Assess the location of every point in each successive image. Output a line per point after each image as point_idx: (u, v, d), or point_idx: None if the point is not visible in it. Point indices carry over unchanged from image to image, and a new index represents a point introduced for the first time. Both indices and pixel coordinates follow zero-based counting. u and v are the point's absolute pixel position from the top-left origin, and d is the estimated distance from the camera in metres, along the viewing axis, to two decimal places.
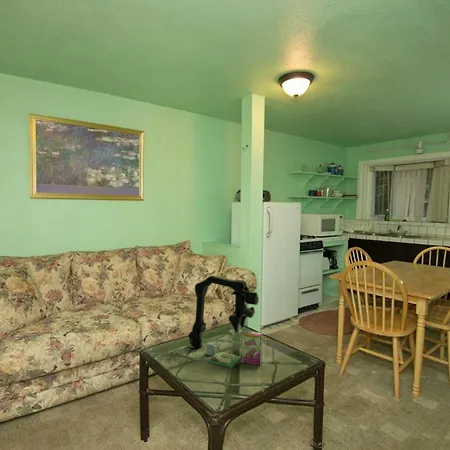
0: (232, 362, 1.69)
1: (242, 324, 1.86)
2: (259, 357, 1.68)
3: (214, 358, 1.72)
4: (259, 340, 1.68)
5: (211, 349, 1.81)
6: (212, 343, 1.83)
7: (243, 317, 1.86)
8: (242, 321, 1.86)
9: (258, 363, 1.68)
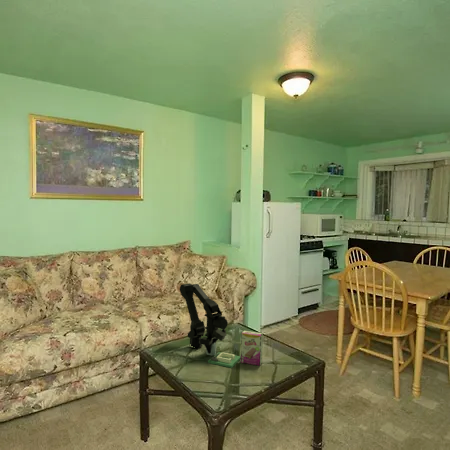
0: (232, 362, 1.69)
1: None
2: (259, 357, 1.68)
3: (214, 358, 1.72)
4: (259, 340, 1.68)
5: (211, 349, 1.81)
6: None
7: (213, 340, 1.85)
8: None
9: (258, 363, 1.68)
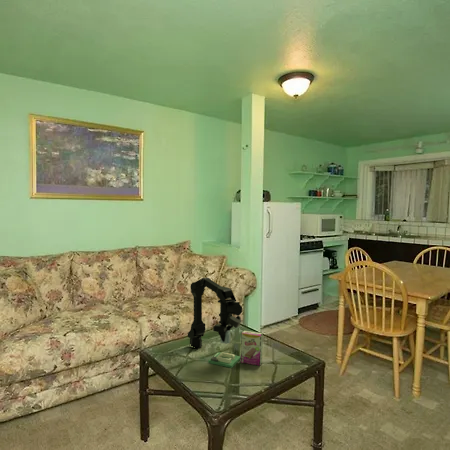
0: (232, 362, 1.69)
1: None
2: (259, 357, 1.68)
3: (214, 358, 1.72)
4: (259, 340, 1.68)
5: (225, 337, 1.71)
6: None
7: (227, 328, 1.76)
8: None
9: (258, 363, 1.68)
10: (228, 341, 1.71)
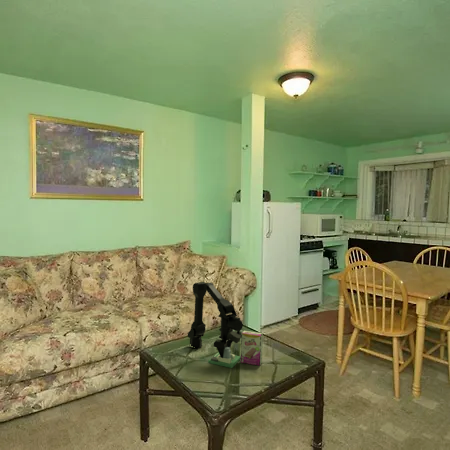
0: (232, 362, 1.69)
1: None
2: (259, 357, 1.68)
3: (214, 358, 1.72)
4: (259, 340, 1.68)
5: (226, 354, 1.71)
6: (226, 348, 1.73)
7: (229, 341, 1.77)
8: (228, 345, 1.77)
9: (258, 363, 1.68)
10: (228, 358, 1.71)
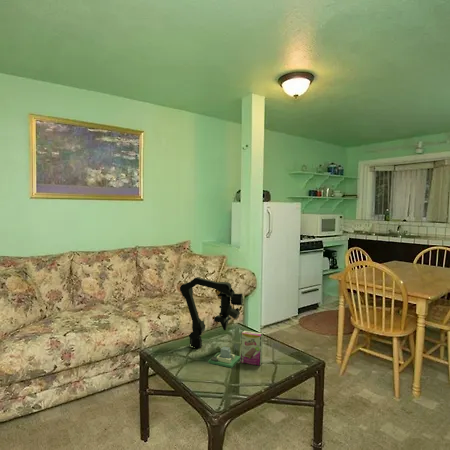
0: (232, 362, 1.69)
1: None
2: (259, 357, 1.68)
3: (214, 358, 1.72)
4: (259, 340, 1.68)
5: (226, 354, 1.71)
6: (226, 348, 1.73)
7: None
8: None
9: (258, 363, 1.69)
10: (228, 358, 1.71)
